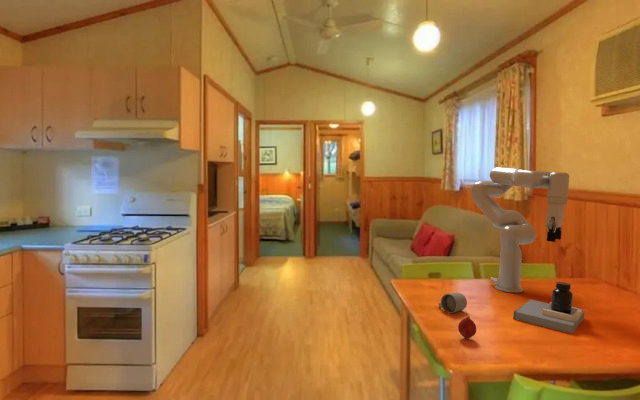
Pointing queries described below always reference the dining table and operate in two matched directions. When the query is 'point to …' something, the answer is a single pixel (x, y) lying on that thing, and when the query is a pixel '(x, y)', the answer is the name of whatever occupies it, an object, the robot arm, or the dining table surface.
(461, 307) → the ceramic mug
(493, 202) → the robot arm
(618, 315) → the dining table surface
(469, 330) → the onion
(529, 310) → the dock
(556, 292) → the supplement bottle
